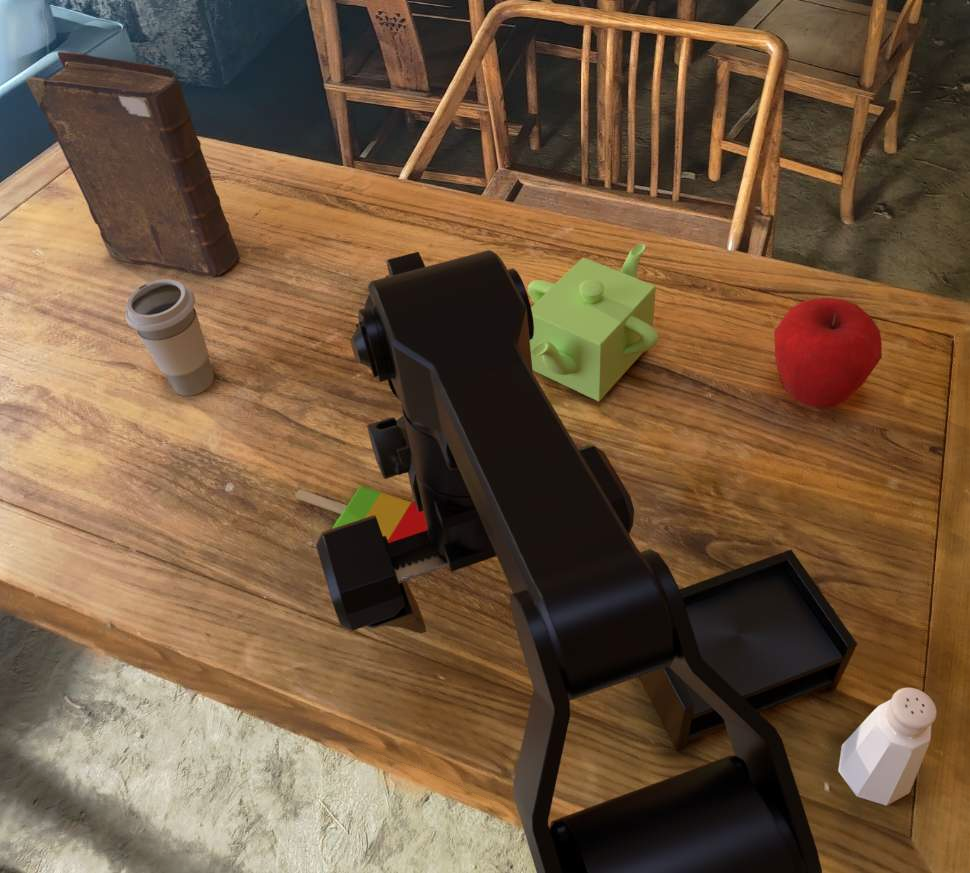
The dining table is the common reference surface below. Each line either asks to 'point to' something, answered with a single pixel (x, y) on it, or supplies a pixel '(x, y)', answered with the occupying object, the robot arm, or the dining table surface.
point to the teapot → (592, 324)
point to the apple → (826, 351)
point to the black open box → (754, 644)
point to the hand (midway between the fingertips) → (486, 604)
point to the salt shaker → (889, 747)
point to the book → (137, 162)
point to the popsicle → (374, 511)
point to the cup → (172, 334)
